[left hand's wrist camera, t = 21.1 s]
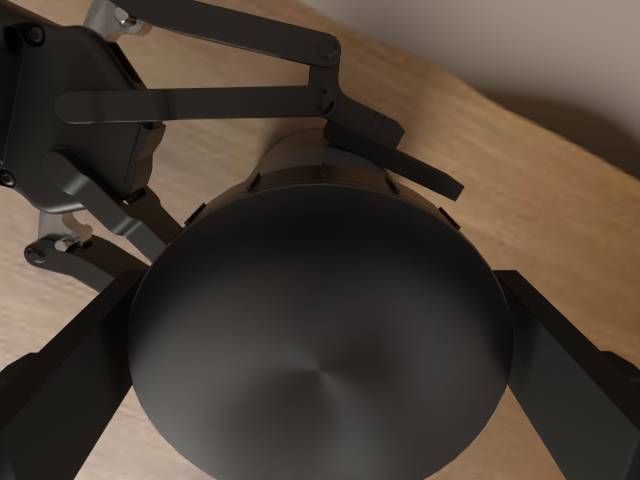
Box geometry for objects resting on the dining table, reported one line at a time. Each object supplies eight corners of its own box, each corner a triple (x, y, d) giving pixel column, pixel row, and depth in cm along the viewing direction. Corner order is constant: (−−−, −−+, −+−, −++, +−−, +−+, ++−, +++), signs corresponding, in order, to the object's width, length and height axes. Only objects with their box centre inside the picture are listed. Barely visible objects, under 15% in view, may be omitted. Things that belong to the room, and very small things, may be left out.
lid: (530, 375, 13) (567, 427, 11) (265, 484, 15) (257, 546, 13) (400, 90, 10) (420, 92, 8) (85, 269, 12) (38, 307, 10)
